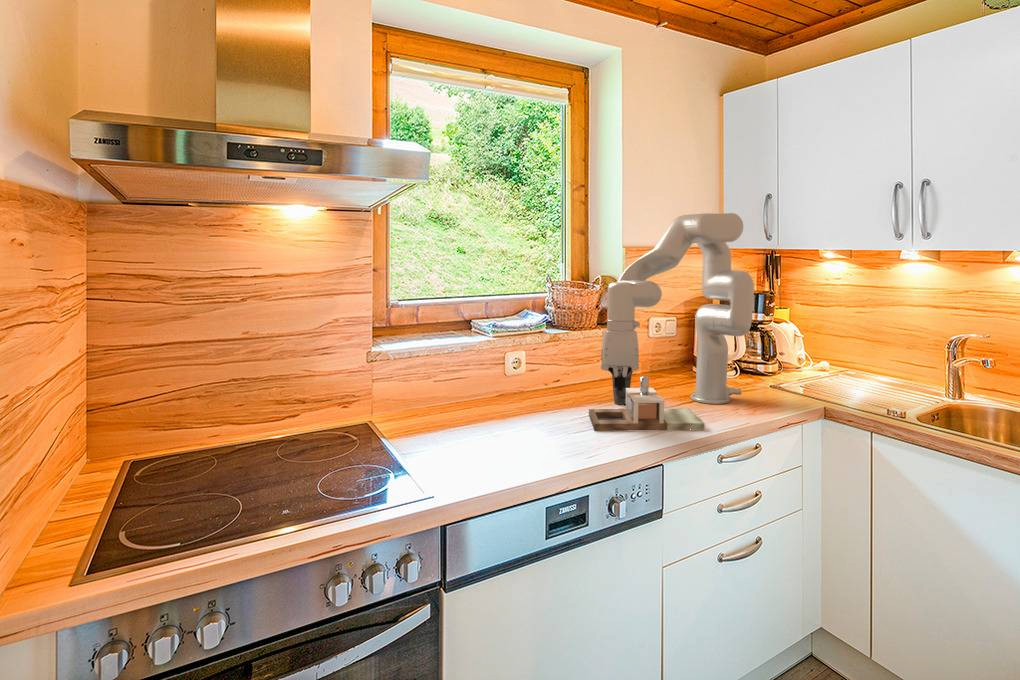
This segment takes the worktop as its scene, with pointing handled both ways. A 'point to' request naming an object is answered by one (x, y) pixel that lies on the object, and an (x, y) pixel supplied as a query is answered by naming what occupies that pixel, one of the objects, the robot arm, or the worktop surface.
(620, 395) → the beverage cup
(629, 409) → the slider
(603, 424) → the board
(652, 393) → the toy bench
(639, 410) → the block
